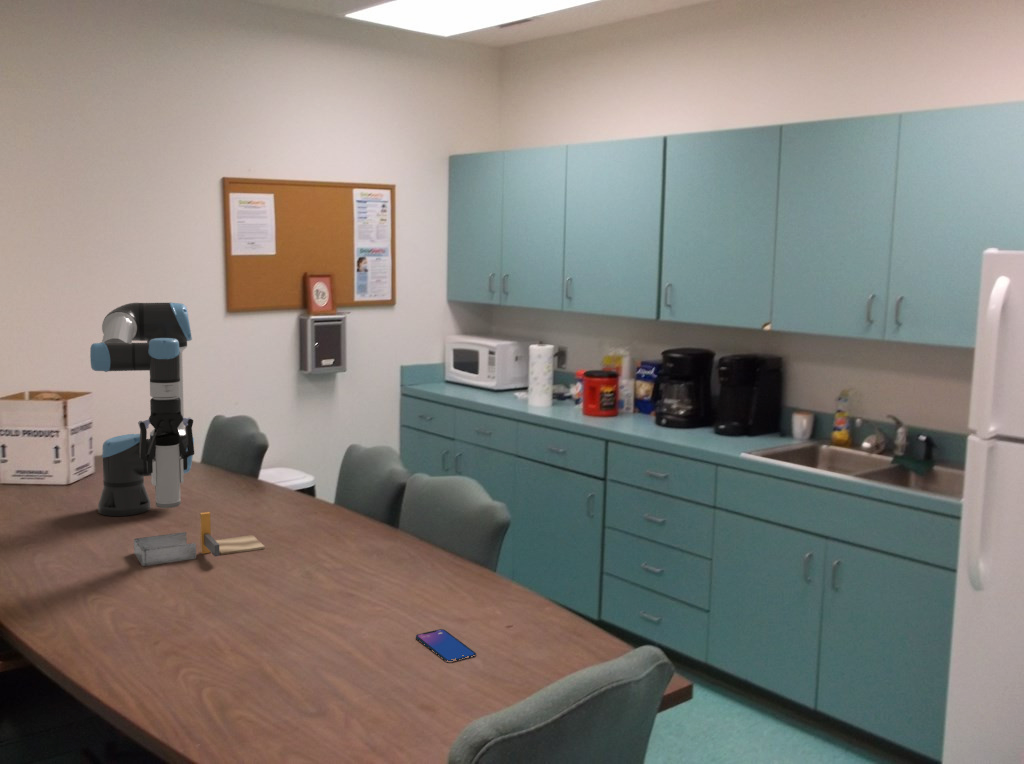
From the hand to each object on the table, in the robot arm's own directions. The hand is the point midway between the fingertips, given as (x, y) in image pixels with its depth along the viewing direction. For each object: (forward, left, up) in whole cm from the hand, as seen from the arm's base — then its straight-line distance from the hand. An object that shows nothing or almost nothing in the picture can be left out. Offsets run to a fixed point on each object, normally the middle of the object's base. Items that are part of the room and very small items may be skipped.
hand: (167, 483), depth 250 cm
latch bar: (+8, +9, -20) cm, 23 cm away
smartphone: (+87, +38, -20) cm, 97 cm away
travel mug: (0, 0, -6) cm, 6 cm away
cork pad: (0, +18, -20) cm, 27 cm away
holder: (0, -2, -20) cm, 20 cm away
